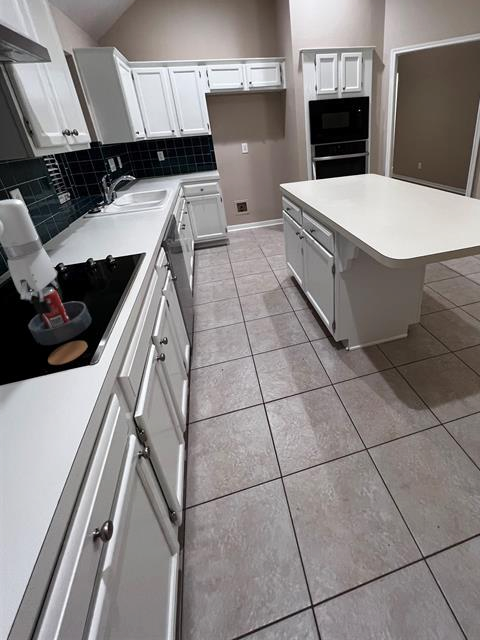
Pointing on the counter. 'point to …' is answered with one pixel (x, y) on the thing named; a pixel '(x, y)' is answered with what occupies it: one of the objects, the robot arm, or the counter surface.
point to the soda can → (54, 308)
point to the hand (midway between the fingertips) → (50, 306)
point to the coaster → (67, 352)
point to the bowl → (64, 332)
